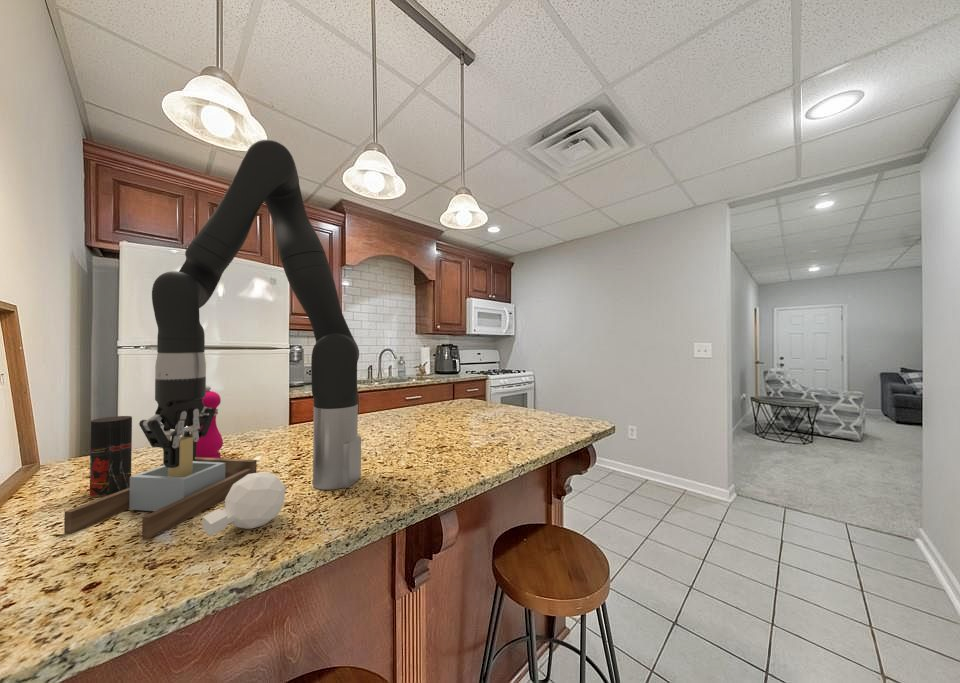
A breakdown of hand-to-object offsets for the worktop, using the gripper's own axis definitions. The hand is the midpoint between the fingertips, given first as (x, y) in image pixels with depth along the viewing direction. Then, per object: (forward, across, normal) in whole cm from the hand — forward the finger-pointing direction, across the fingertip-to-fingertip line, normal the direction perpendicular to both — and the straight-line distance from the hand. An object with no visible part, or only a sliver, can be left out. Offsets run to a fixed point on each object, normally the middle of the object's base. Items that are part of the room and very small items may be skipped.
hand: (180, 463), depth 67 cm
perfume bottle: (+8, -7, -20) cm, 23 cm away
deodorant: (+8, +3, +19) cm, 21 cm away
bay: (+7, -1, 0) cm, 8 cm away
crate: (+7, 0, 0) cm, 7 cm away
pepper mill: (+8, +21, +15) cm, 27 cm away
